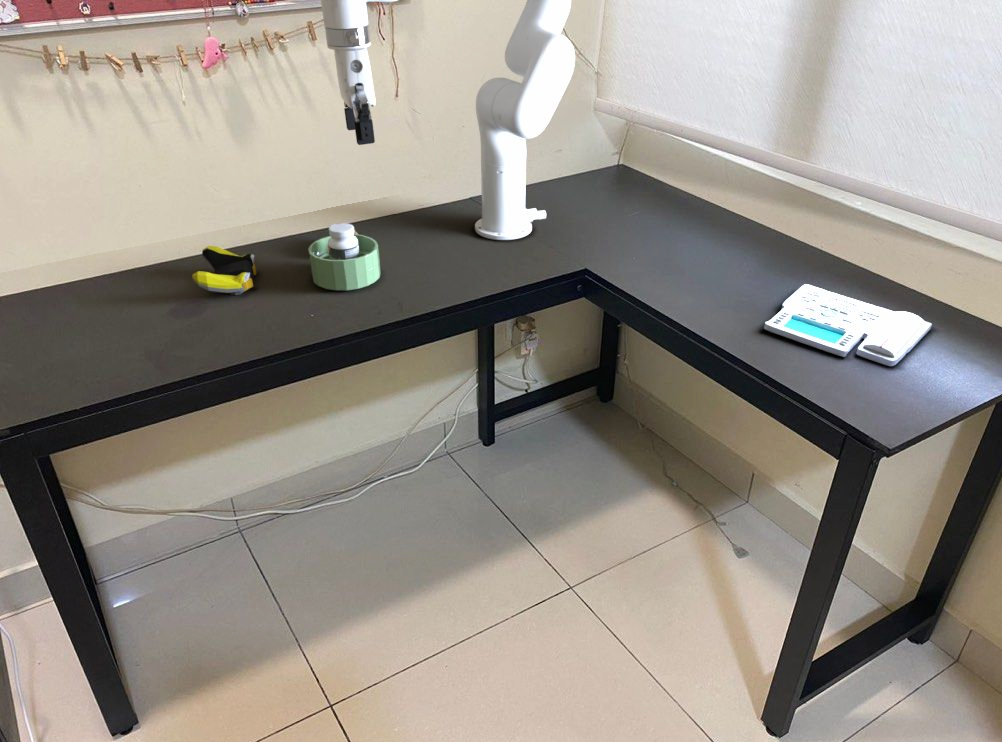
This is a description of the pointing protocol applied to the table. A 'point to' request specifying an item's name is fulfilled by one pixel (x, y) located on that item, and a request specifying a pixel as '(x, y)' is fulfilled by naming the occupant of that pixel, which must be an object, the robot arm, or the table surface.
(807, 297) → the office telephone
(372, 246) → the green bowl
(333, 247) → the pill bottle
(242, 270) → the gaming controller
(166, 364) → the table surface
